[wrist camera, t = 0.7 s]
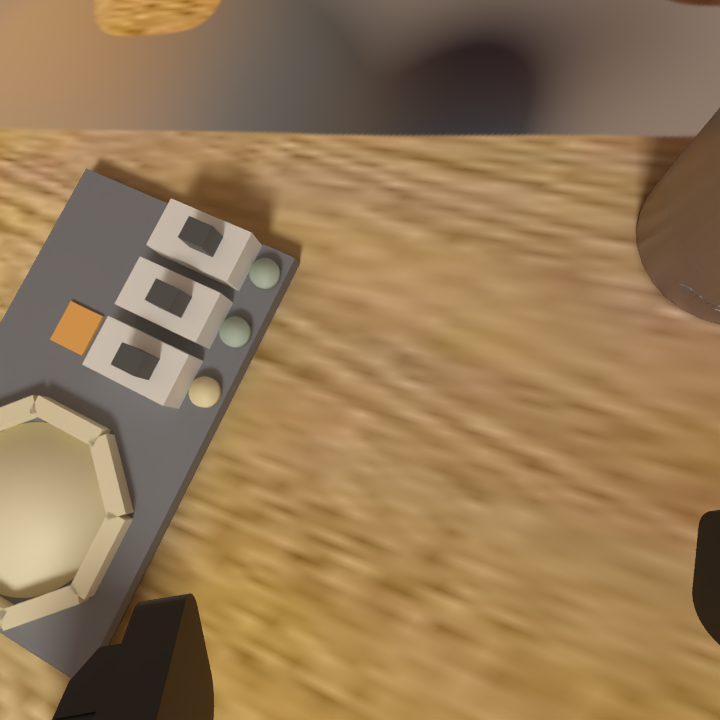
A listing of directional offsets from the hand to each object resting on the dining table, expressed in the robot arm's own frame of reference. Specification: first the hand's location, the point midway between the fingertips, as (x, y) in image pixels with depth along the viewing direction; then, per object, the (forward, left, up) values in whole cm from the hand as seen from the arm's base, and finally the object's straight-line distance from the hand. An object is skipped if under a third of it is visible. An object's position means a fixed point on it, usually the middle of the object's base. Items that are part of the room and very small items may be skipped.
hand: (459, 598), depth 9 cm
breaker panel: (+4, -19, -20) cm, 28 cm away
